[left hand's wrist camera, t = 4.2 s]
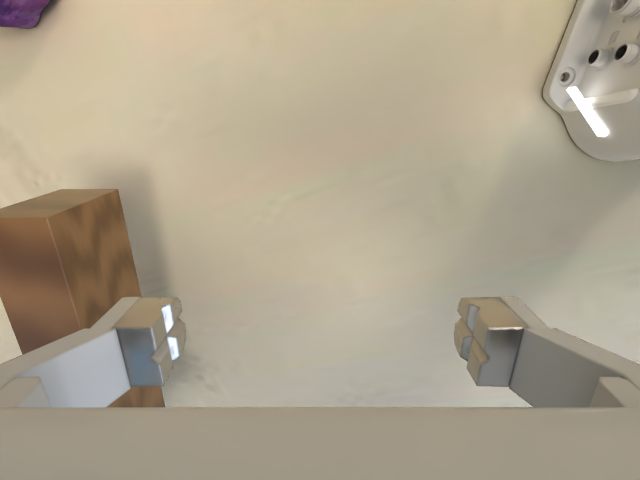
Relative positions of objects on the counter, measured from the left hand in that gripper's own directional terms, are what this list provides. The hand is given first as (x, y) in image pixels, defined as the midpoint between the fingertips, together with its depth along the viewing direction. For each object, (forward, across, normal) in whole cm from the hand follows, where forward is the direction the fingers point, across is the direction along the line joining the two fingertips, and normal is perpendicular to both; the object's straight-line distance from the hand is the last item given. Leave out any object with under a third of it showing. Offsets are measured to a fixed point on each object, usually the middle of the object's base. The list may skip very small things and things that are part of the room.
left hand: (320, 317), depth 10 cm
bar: (+21, -20, -15) cm, 32 cm away
